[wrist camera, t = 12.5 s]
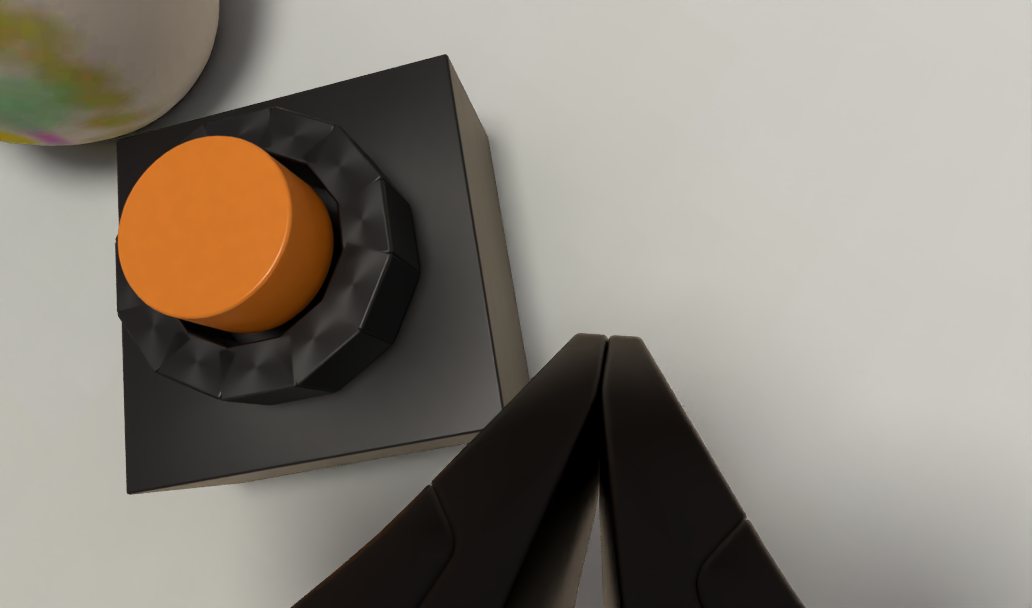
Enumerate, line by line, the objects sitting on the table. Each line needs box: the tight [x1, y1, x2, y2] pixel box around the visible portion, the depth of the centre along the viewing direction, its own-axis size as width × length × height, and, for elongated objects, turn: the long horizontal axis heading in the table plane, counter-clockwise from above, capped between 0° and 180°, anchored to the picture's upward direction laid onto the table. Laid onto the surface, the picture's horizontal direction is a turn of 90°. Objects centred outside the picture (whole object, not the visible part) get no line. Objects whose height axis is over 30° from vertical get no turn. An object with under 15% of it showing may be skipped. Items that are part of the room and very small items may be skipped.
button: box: [118, 136, 334, 334], centre depth 15 cm, size 4×4×2 cm
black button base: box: [115, 54, 529, 495], centre depth 19 cm, size 10×10×7 cm
